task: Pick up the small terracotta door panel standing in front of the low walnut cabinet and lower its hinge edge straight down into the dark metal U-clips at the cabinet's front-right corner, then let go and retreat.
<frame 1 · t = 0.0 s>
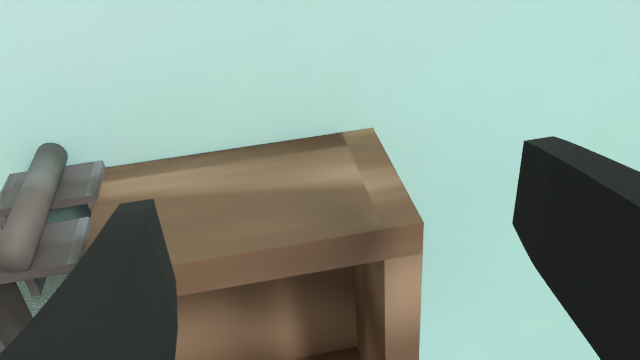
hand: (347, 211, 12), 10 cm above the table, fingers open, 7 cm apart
cabinet: (261, 268, 25), on the table
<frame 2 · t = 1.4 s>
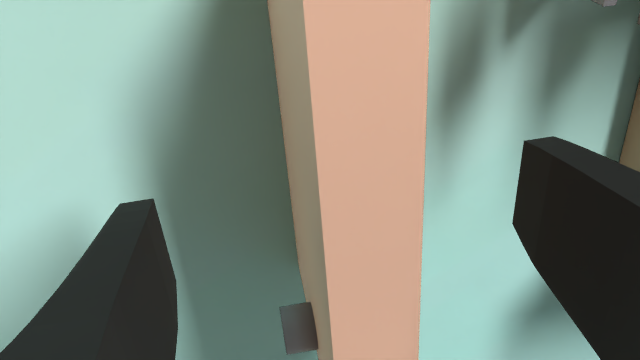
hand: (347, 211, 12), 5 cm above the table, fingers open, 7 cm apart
door: (309, 104, 16), on the table
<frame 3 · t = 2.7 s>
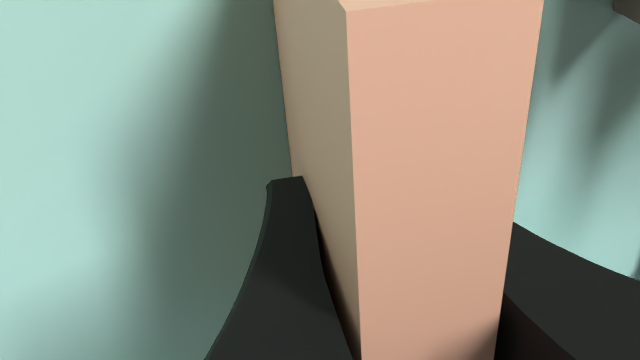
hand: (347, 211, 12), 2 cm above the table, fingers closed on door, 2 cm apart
door: (325, 154, 13), on the table, touching gripper
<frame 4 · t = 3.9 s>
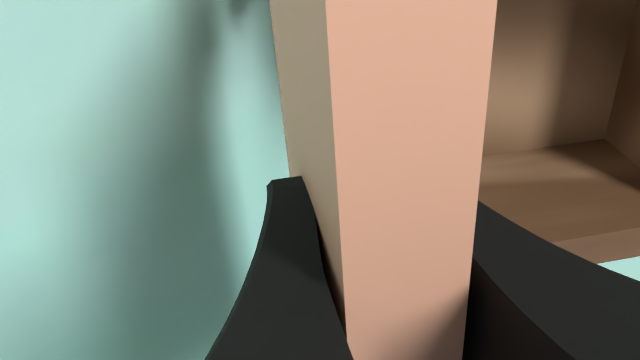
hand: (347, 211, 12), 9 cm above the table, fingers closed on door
cabinet: (511, 15, 20), on the table
door: (319, 138, 14), point 6 cm above the table, touching gripper
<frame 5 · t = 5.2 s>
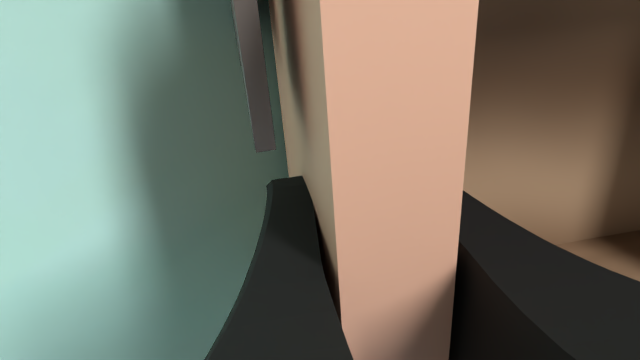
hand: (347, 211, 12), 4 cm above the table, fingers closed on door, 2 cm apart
cabinet: (555, 82, 16), on the table
door: (316, 129, 14), point 1 cm above the table, touching gripper
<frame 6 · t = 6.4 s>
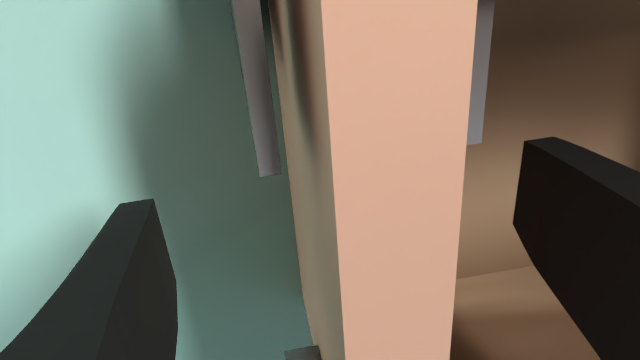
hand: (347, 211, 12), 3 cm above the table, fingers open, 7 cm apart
cabinet: (568, 92, 15), on the table
door: (315, 129, 14), on the table
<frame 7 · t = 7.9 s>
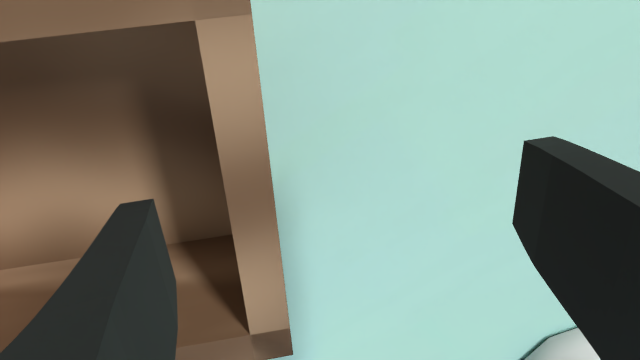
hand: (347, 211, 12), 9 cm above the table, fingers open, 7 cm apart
cabinet: (104, 119, 20), on the table
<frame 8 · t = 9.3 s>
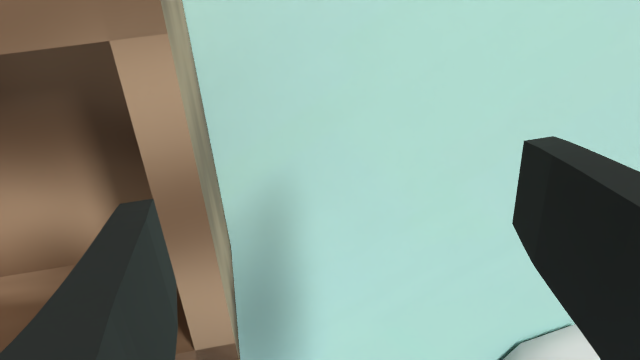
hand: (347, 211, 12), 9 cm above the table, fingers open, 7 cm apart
cabinet: (51, 133, 20), on the table
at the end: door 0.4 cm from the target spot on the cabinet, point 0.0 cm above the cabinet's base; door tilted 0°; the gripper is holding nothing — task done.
